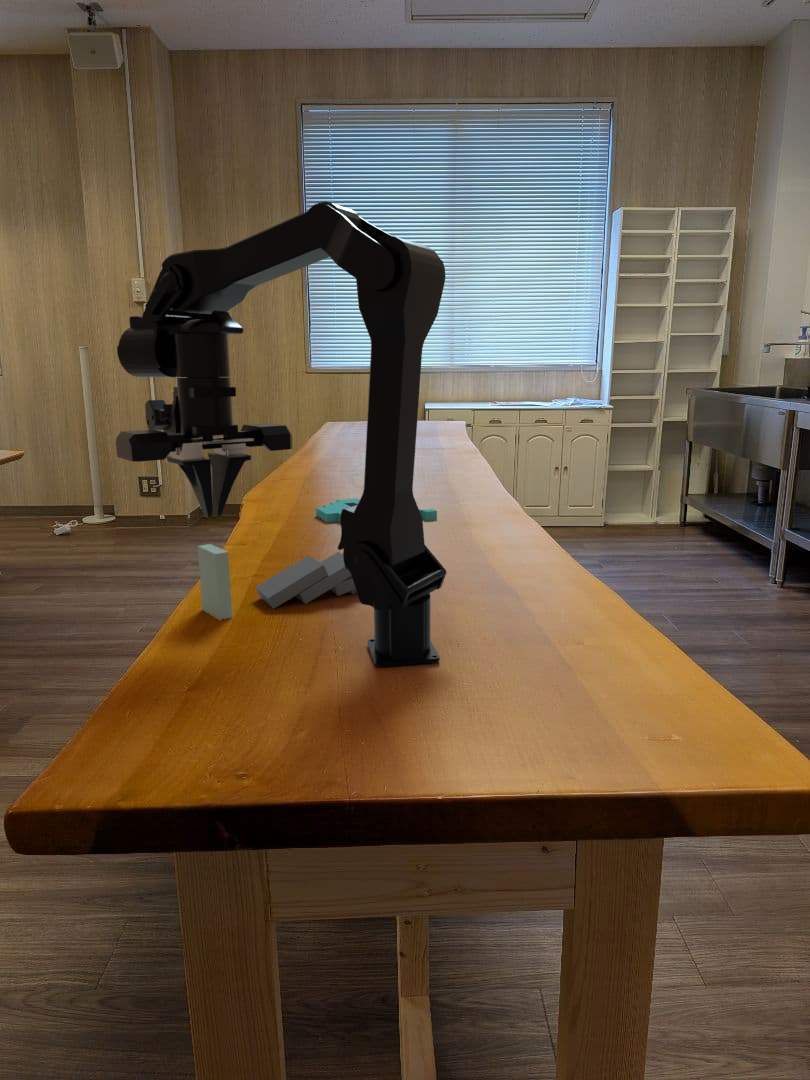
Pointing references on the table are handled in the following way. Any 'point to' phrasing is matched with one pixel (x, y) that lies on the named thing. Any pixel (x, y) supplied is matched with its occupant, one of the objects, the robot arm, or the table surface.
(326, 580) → the domino
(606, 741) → the table surface
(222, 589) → the sage domino
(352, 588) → the domino
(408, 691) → the table surface
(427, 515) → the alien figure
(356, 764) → the table surface
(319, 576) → the domino
